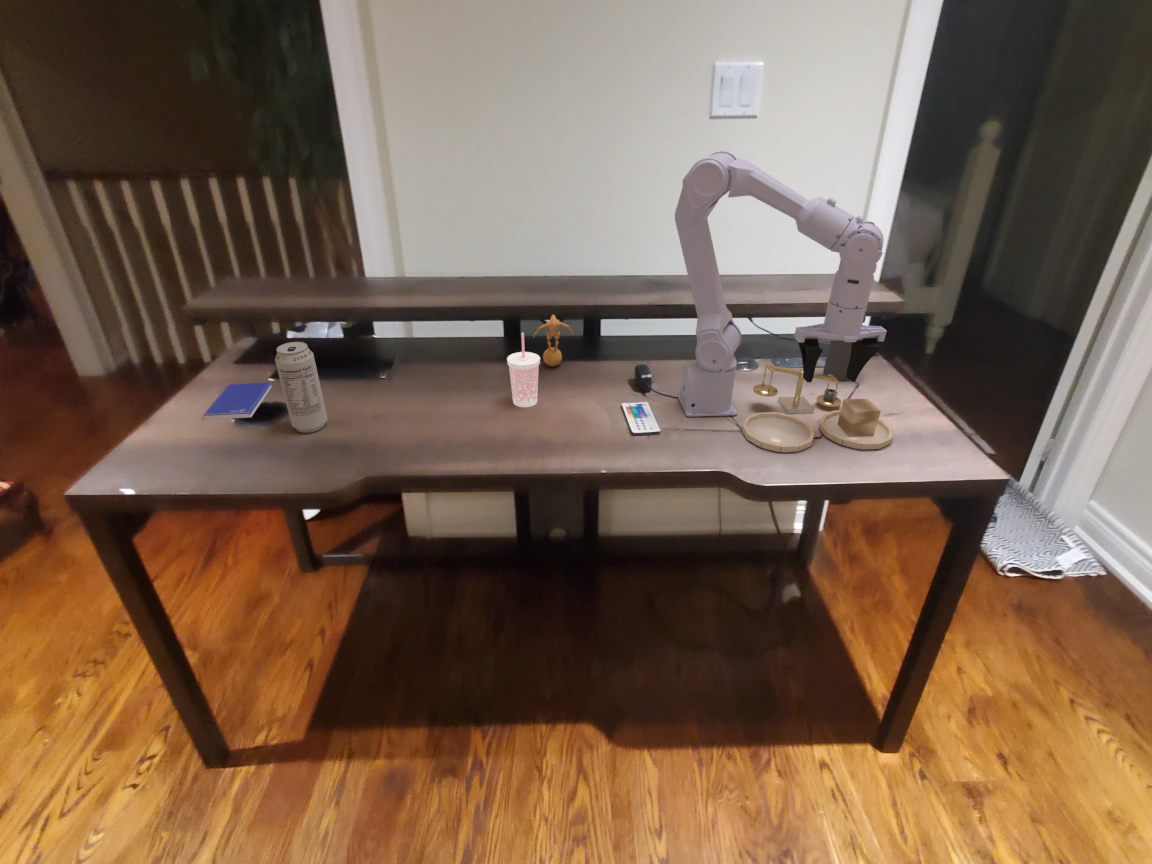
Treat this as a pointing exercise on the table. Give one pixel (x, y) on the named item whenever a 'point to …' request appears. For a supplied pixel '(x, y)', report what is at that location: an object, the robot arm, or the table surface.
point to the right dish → (864, 442)
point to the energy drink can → (301, 386)
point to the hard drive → (238, 401)
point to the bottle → (838, 358)
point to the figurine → (553, 354)
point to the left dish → (778, 432)
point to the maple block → (858, 417)
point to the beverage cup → (524, 376)
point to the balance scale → (798, 391)
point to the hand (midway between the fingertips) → (828, 379)
